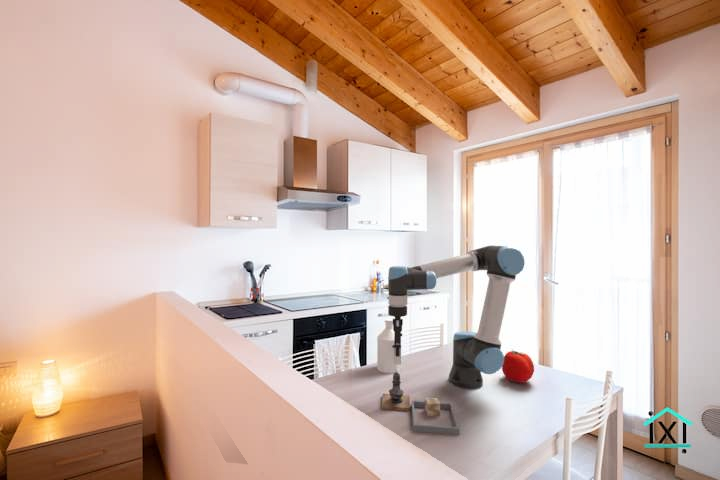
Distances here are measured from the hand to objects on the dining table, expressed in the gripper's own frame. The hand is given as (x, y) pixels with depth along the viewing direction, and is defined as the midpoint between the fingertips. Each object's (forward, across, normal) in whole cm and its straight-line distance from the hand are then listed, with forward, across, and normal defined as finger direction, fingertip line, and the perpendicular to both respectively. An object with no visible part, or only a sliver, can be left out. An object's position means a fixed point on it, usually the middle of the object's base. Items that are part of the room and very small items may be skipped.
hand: (397, 358), depth 142 cm
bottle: (+19, -37, -5) cm, 42 cm away
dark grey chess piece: (+17, 0, 0) cm, 17 cm away
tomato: (+20, -31, +56) cm, 67 cm away
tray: (+18, +10, +13) cm, 25 cm away
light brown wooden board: (+18, 0, -1) cm, 18 cm away
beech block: (+19, +5, +13) cm, 24 cm away
